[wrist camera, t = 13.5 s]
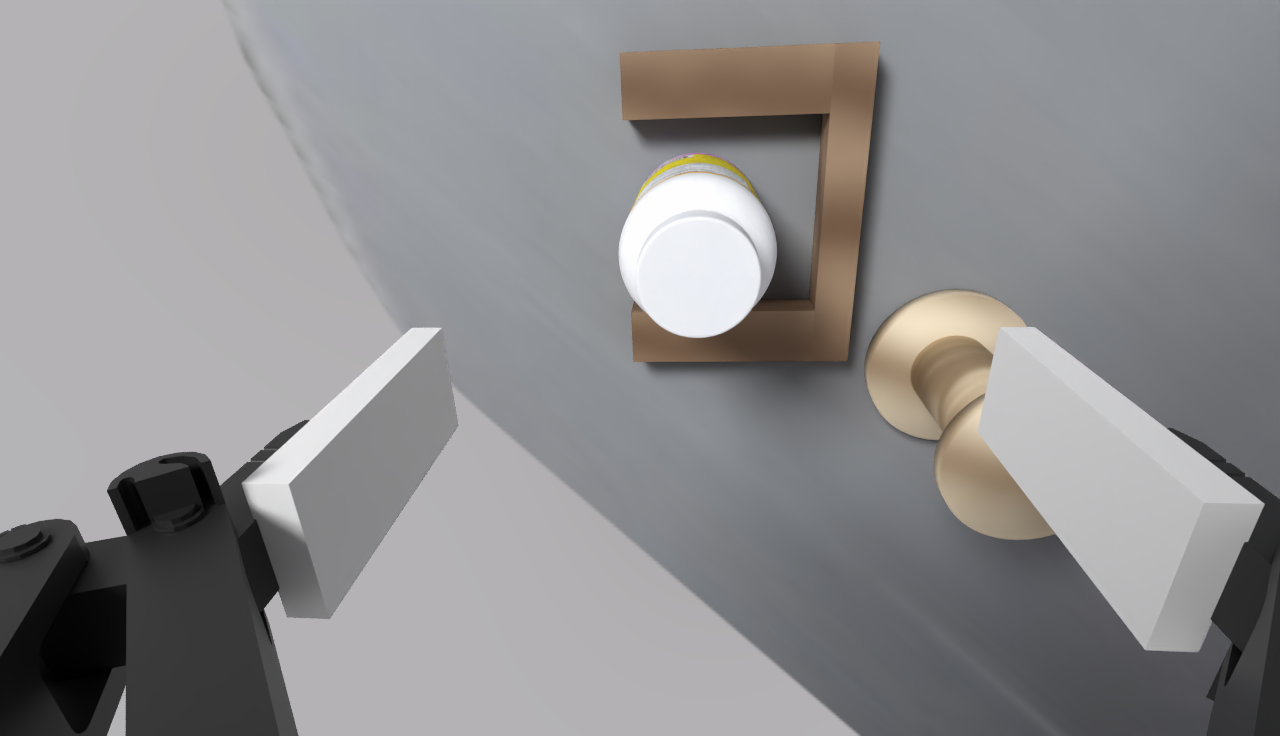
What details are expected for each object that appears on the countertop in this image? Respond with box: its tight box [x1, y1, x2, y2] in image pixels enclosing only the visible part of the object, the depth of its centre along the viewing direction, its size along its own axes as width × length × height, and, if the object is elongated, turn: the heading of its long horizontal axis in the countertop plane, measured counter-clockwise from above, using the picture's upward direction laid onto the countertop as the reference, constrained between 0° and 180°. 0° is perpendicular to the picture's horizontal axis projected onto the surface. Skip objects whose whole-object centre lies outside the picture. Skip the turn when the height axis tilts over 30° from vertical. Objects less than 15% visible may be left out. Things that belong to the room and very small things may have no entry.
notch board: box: [620, 42, 880, 362], centre depth 35 cm, size 16×12×2 cm
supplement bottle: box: [619, 153, 777, 338], centre depth 30 cm, size 7×7×13 cm
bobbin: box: [864, 289, 1056, 540], centre depth 33 cm, size 9×9×11 cm
